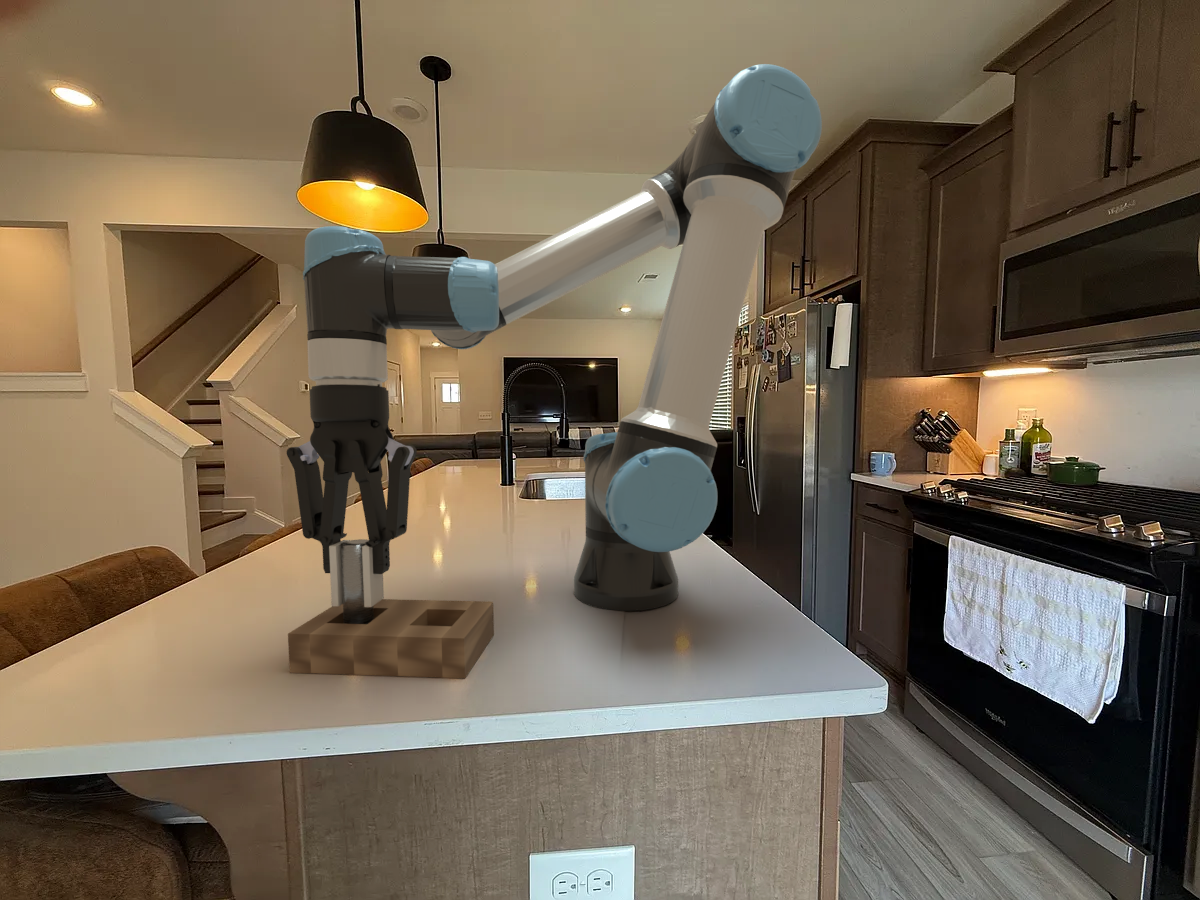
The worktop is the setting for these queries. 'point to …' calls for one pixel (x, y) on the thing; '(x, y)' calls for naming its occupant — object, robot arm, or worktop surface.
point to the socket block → (395, 640)
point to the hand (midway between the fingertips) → (358, 601)
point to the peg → (354, 584)
